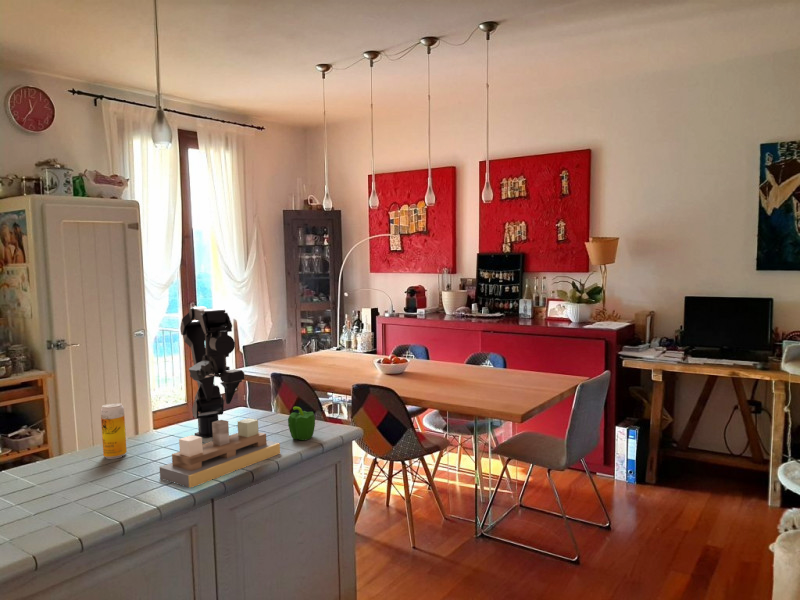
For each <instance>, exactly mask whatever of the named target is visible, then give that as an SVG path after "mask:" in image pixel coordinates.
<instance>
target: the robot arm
mask: <svg viewBox="0 0 800 600" xmlns="http://www.w3.org/2000/svg"><path fill="white" fill-rule="evenodd" d="M179 328H180V334H181V336H182V337H183V338H182V339H183V342H184V343H185V344H186V345H187V346H188V347H190V351H191V357H192V360H193V365H192V366H191V367H189V368H188V372H189V376H190V378H192V380H193V381H195V382H196V384H197V391H196V393H195V396H194V401H193V405H192V407H191V412H192V417H194V418H195V419H196V420H197V428H198V431H197V432H195V433H194V436H198V437H202V438H210V437H213V431H212V422H215V421H218V420H219V416H221V415H224V405H225V404H226V405H230V404H231V402H232V400H233V397H234V396H235V393H236V391H237V389H238V386H239V385H240V383H242V382H243V380H245V377H246V376H245V372H244V371H243V370H241V369H236V368H235V369H234V368H233V369H231V368H230V367H231V366H228V365H227V358H228V357H230V354H231V353H232V352H233V351H234V349H235V347H236V343H235V340H234V338H233V337H232V336H231V335H229V334H228V333H230V332H233V324H232V320H231V318H230V316H229V314H228V312H227V311H226V310H225V308H214V309H213V308H212V309H210V308H207V306H204V305H203V306H202V305H201V306H192V307H190V308H189V310H188V313H186V315H184V317H182V318H181V321H180V327H179ZM215 378H220V381H221V382H220V385H222V387H223V389H224V397H225V399H224V398H223V396H222V395H221V390H220V387H219V385H217V384H216V385H215V384H214V381H215Z"/></svg>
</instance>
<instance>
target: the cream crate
mask: <svg viewBox="0 0 800 600" xmlns="http://www.w3.org/2000/svg"><path fill="white" fill-rule="evenodd" d="M178 442H179V443H178V444H179V452H180V454H181V455H184V456H188V457H191V456H194V455H197V454H200V453H203V448H202V444H203V437H201V436H197V435H195V434H194V435H192V434H191V435H188V436H185V437H181V438H179V439H178Z"/></svg>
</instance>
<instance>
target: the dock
mask: <svg viewBox="0 0 800 600" xmlns="http://www.w3.org/2000/svg"><path fill="white" fill-rule="evenodd" d="M266 442H267V444H266V445H263V446H260V447H256V446H252V445H248V446H245V447H242V448H239V449H236V455H235V456H232V457H229V458H224V457H220V456H216V457H213V458H211V459H208V460H205V461H202V468H199V469H196V470H193V471H190V470H186V469H183V468H179V467H176V466H173V465H172V462H171V463H167V464H165V465H162V466H159V478H160V480H163V479H164V481H167V480H168V481H167V482H170V481H171V483H173V482H175V483H174V484H176V483H178V484H177V485H179V484H181V485H180V486H182V485H184V486H183V487H186V488H189V487H190V488H189V489H192V488H194V486H195V487H197V486H199V484H200V485H202V484H204V483H207V481H208V482H209V481H213V480H214V479H215V480H216V479H217V478H221V477H223V476H225V474H226V475H229V474H230V473H233V471H234V472H236V471H239V470H242V469H243V468H246V466H247V467H249V466H251V465H255V464H256V463H259V462H262V461H264V460H267V459H271V458H272V457H275V456H277V455H280V454H281V444H280V443H279V442H275V441H271V440H267V439H266ZM238 469H239V470H238ZM235 470H236V471H235ZM220 476H221V477H220ZM212 479H213V480H212ZM191 487H192V488H191Z"/></svg>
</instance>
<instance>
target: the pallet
mask: <svg viewBox="0 0 800 600" xmlns="http://www.w3.org/2000/svg"><path fill="white" fill-rule="evenodd" d="M229 428H230V427H229V421H228V420H224V419H220V420H219V419H218V421H215V422H212V431H213V436H212V440H211V441H209V442H206V443H202V448H203V453H200V454H197V455H194V456H191V457H188V456H184V455H181V454H180V451H178V452H174V453H172V454H171V461H172V462H171V463H172V465H173V466H176V467H179V468H183V469H186V470H190V471H193V470H196V469H199V468H202V461H205V460H208V459H211V458H213V457H216V456H220V457H224V458H229V457H232V456H235V455H236V449H239V448H242V447H245V446H248V445H252V446H256V447H260V446H263V445H266V444H267V442H266V440H267V433H265V432H259V434H256V435H253V436H250V437H244V436H239V435H238V432H237V433H236V432H235V433H233V434H230V430H229Z"/></svg>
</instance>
